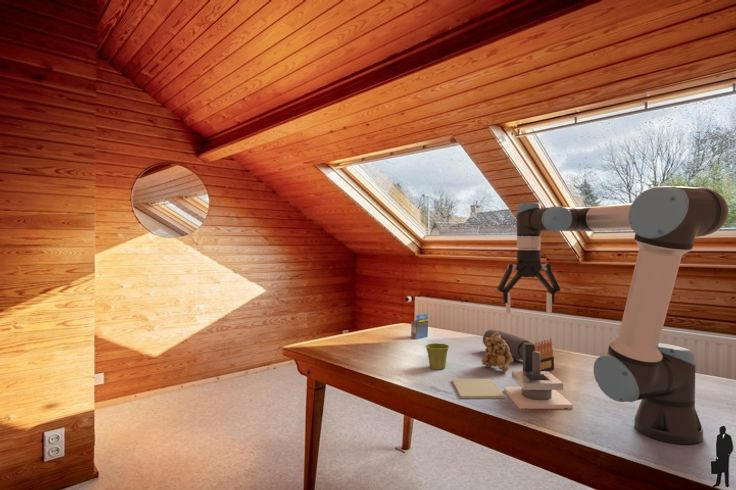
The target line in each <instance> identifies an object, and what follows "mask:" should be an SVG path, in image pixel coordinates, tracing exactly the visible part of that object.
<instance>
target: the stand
mask: <svg viewBox="0 0 736 490" xmlns="http://www.w3.org/2000/svg"><path fill="white" fill-rule="evenodd" d="M532 380H540V352H538V351H533V352H532ZM503 389H504V390H503V391H504V392H505V393H506V395H507V396H509V398H510V399H511V401H513V403H514V404H515V405H516V406H517V408H518V409H522V410H523V409H526V408H527V409H528V410H530V409H533V410H534V409H538V410H539V409H548V410H549V409H552V410H554V409H559V410H560V409H564V408H568V410H569V409H572V410H573V408H574V406H573V405H574V404H572V402H570V400H568V399H567V398H566V397H564V396H563V395H562V394H561V393H560V392H559V390H523V389H522V388H521V386H503ZM564 410H565V409H564Z"/></svg>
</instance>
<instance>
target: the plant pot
mask: <svg viewBox="0 0 736 490" xmlns="http://www.w3.org/2000/svg"><path fill="white" fill-rule="evenodd" d="M425 348H426V352H427V357H428V363H429V368H431V369H432V370H437V371H439V370H444V369H446V366H447V364H446V363H447V356H448V351H449V348H450V345H448V344H446V343H440V342H438V343H437V342H433V343H427V344H425Z"/></svg>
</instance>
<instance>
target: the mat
mask: <svg viewBox="0 0 736 490" xmlns="http://www.w3.org/2000/svg"><path fill="white" fill-rule="evenodd" d="M451 382H452V384H453V386H454V388H455V390H456V392H457V394H458V396H459V397H460V399H505V398H506V397H505V394H504V393H503V392H502V391H501V390H500V388H499V387H498V386H497V384H496V383H495V382H494V381H493V379H491V378H451Z"/></svg>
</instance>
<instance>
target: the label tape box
mask: <svg viewBox="0 0 736 490" xmlns="http://www.w3.org/2000/svg"><path fill="white" fill-rule="evenodd" d="M410 323H411V324H410V327H411V328H410V329H411V330H410V338H411V339H413V340H419V339H423V338H428V336H429V314H428V313H422V314H416V315H415V320H413V321H411V322H410Z"/></svg>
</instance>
